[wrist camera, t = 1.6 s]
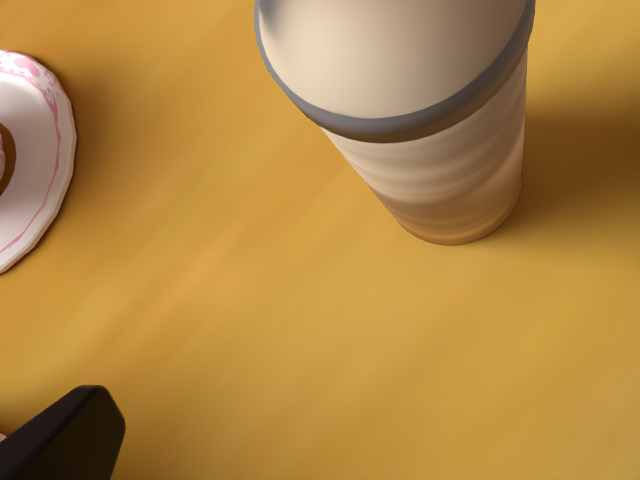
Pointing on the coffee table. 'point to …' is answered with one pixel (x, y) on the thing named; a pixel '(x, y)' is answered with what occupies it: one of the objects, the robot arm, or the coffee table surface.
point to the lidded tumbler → (413, 100)
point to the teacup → (33, 152)
